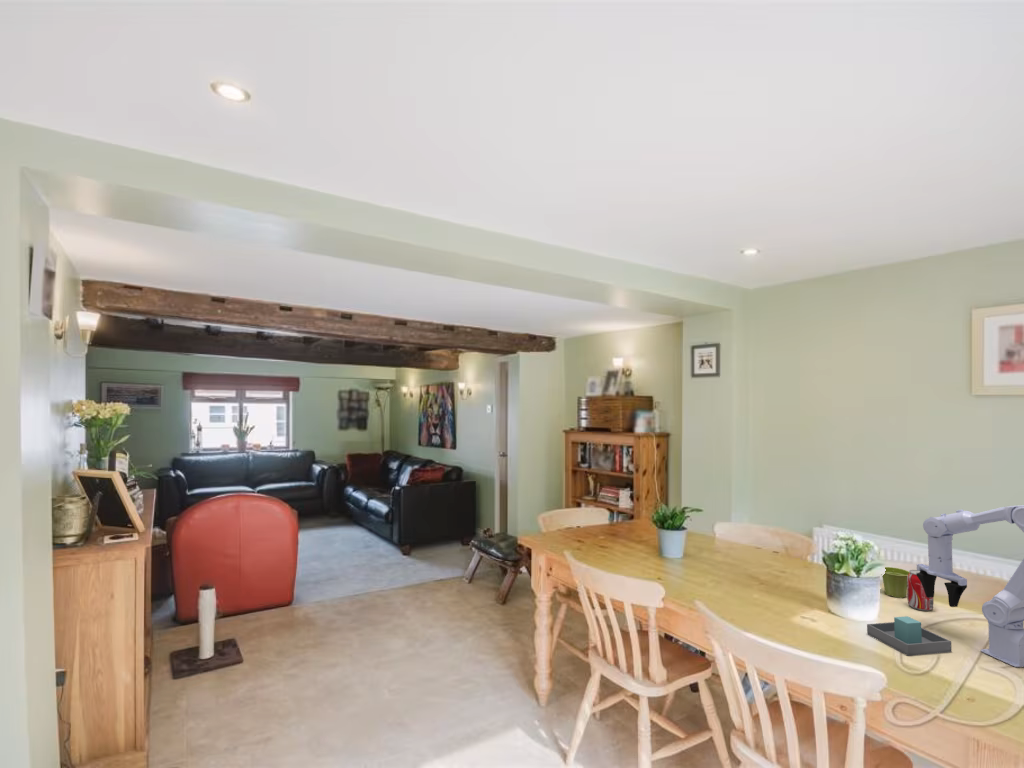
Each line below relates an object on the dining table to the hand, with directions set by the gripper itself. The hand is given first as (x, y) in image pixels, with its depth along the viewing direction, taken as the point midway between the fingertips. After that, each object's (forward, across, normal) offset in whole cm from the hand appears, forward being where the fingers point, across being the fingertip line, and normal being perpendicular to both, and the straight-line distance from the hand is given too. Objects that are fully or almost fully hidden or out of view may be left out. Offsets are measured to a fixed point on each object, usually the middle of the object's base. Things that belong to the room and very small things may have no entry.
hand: (941, 601), depth 164 cm
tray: (+9, +4, -16) cm, 19 cm away
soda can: (+10, -18, +11) cm, 23 cm away
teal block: (+9, +4, -16) cm, 19 cm away
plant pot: (+10, -30, +13) cm, 34 cm away
